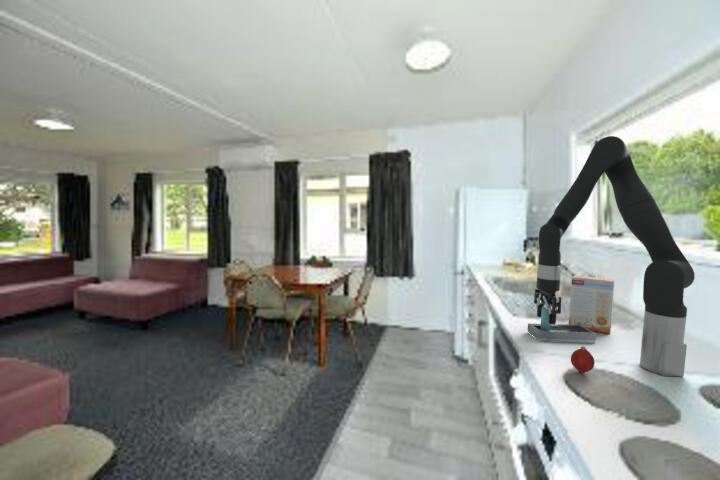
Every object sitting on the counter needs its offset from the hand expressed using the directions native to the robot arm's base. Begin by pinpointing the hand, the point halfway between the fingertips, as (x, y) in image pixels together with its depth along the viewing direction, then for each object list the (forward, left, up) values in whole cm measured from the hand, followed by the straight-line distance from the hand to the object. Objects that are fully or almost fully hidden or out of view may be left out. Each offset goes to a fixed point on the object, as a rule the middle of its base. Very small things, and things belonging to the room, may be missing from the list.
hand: (545, 320), depth 126 cm
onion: (-28, +4, -7) cm, 29 cm away
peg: (0, 0, -6) cm, 6 cm away
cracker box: (+12, -24, -7) cm, 27 cm away
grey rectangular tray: (0, -6, -7) cm, 9 cm away
